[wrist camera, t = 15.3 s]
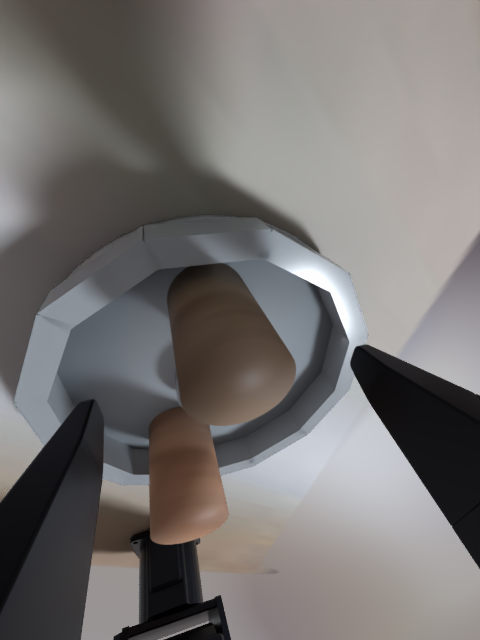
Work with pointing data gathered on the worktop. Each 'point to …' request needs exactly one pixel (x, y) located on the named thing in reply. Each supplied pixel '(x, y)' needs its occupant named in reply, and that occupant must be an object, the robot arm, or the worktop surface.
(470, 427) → the robot arm
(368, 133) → the worktop surface
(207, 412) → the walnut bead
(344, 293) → the groove tray
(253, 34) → the worktop surface
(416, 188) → the worktop surface
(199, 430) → the brown cork stopper
